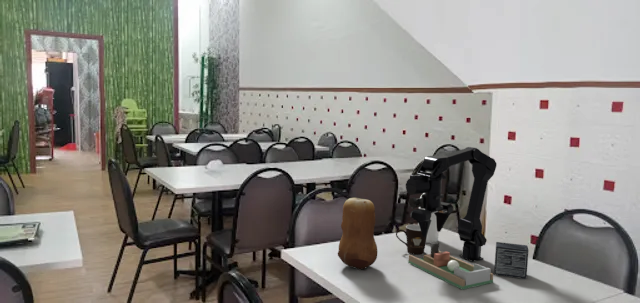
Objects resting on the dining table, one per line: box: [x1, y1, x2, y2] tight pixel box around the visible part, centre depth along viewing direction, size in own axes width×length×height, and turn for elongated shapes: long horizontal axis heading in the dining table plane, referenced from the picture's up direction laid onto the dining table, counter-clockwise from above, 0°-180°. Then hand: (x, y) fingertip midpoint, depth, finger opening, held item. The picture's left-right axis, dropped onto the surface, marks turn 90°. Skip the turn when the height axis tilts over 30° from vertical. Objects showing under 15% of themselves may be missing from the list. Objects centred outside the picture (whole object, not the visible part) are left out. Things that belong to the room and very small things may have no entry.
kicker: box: [422, 241, 451, 267], centre depth 176 cm, size 6×8×7 cm
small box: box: [493, 241, 530, 280], centre depth 170 cm, size 11×6×10 cm, turn 71°
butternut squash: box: [337, 197, 378, 270], centre depth 171 cm, size 14×13×25 cm
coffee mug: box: [395, 224, 427, 256], centre depth 192 cm, size 12×9×10 cm
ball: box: [447, 260, 459, 272], centre depth 168 cm, size 4×4×4 cm
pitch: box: [407, 250, 494, 290], centre depth 170 cm, size 14×27×5 cm, turn 29°
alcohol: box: [417, 172, 440, 244], centre depth 206 cm, size 9×9×30 cm
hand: (431, 234), depth 175 cm, fingers open, 9 cm apart
